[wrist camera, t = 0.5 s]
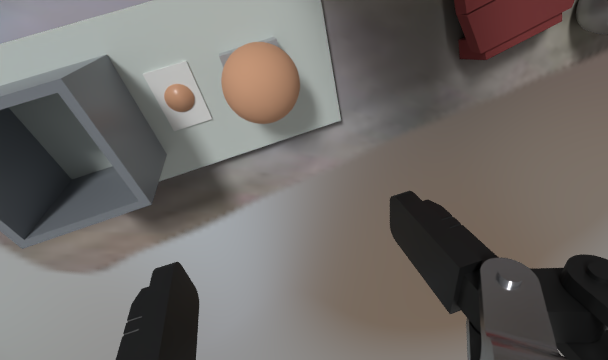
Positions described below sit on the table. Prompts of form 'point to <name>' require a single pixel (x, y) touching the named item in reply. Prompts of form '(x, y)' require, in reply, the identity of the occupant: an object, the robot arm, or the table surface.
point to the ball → (260, 82)
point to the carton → (503, 23)
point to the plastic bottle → (593, 15)
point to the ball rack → (140, 105)
